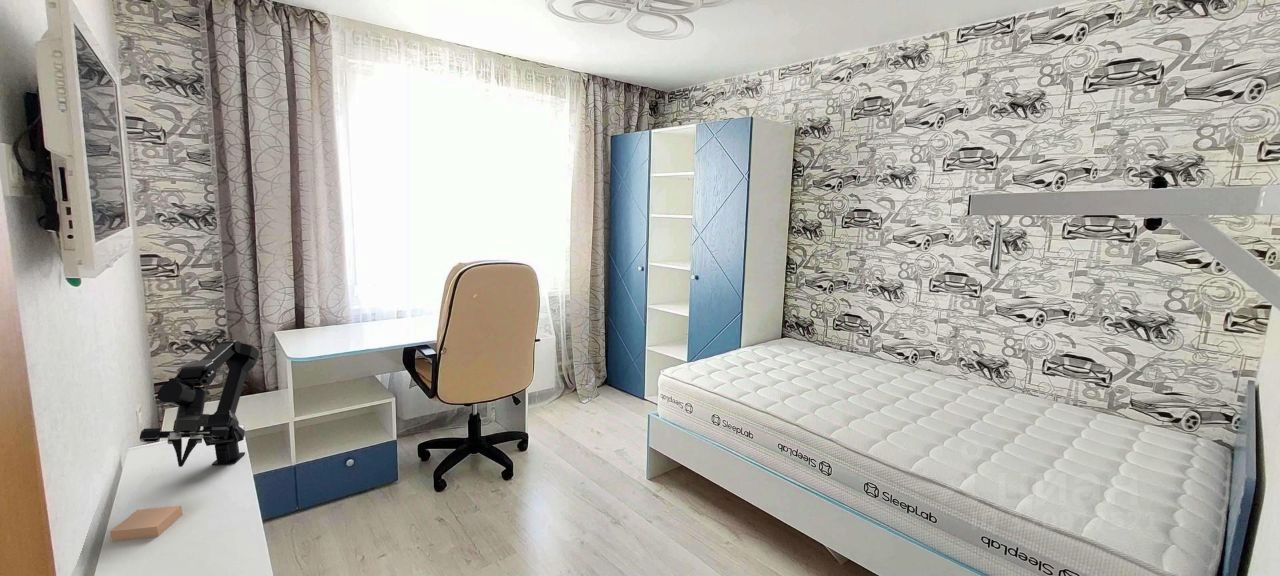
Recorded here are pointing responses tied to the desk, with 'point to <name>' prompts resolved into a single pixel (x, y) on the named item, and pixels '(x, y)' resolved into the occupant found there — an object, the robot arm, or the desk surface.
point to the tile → (146, 523)
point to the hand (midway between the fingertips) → (180, 466)
